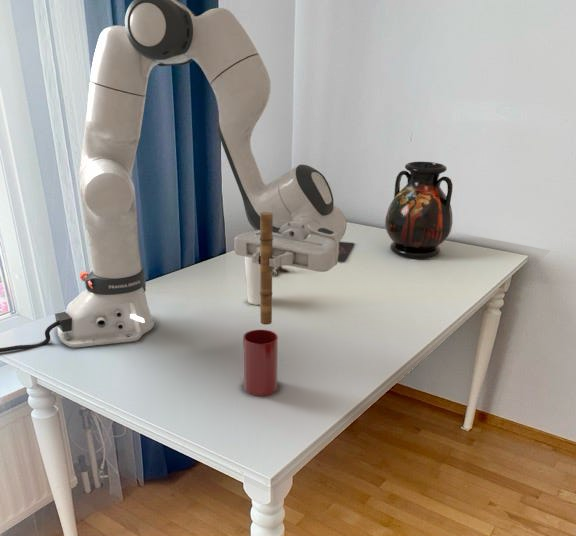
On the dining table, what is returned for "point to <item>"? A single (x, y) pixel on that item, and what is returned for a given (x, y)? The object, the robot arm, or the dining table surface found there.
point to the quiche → (344, 250)
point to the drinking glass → (252, 281)
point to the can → (260, 362)
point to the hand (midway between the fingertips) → (263, 261)
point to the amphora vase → (420, 212)
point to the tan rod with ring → (266, 267)
